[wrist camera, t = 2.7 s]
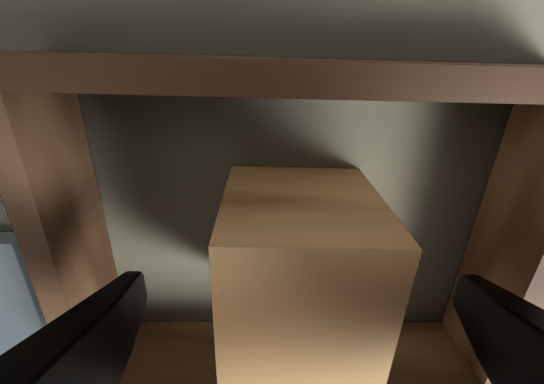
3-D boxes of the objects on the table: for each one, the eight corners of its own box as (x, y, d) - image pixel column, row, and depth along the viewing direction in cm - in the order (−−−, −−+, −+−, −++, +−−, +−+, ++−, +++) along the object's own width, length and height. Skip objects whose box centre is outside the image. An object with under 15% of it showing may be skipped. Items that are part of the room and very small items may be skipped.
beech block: (343, 270, 13) (384, 389, 9) (234, 269, 13) (217, 389, 8) (358, 168, 11) (421, 249, 7) (231, 165, 11) (208, 246, 7)
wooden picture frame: (454, 335, 15) (497, 401, 12) (111, 334, 14) (74, 402, 11) (551, 64, 10) (661, 70, 7) (40, 50, 9) (-52, 51, 7)
